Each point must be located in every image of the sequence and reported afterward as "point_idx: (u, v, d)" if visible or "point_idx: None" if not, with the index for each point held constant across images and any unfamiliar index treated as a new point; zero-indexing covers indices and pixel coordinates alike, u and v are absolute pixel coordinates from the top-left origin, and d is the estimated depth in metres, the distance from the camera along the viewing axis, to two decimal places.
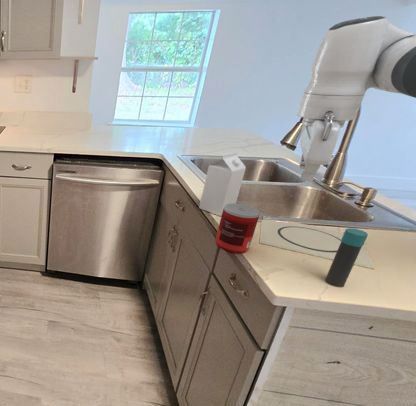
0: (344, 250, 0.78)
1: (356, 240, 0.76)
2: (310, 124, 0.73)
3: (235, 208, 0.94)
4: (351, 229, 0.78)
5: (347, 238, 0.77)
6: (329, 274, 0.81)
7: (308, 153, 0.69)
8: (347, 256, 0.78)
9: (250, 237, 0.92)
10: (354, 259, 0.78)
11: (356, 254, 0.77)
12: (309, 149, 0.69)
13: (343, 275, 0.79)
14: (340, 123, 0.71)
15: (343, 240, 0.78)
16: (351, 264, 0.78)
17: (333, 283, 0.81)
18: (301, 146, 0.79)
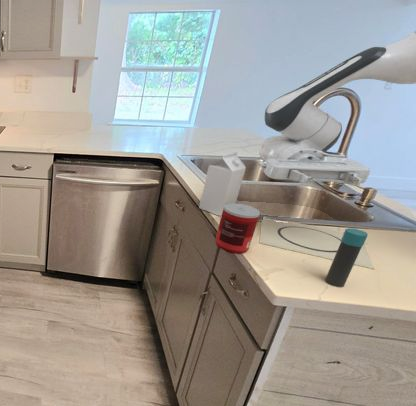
0: (344, 250, 0.78)
1: (356, 240, 0.76)
2: None
3: (235, 208, 0.94)
4: (351, 229, 0.78)
5: (347, 238, 0.77)
6: (329, 274, 0.81)
7: None
8: (347, 256, 0.78)
9: (250, 237, 0.92)
10: (354, 259, 0.78)
11: (356, 254, 0.77)
12: (267, 175, 0.94)
13: (343, 275, 0.79)
14: (298, 157, 0.94)
15: (343, 240, 0.78)
16: (351, 264, 0.78)
17: (333, 283, 0.81)
18: (331, 181, 0.89)
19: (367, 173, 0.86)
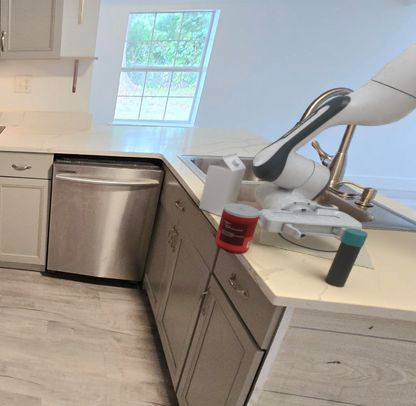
0: (344, 250, 0.78)
1: (356, 240, 0.76)
2: None
3: (235, 208, 0.94)
4: (351, 229, 0.78)
5: (347, 238, 0.77)
6: (329, 274, 0.81)
7: (262, 227, 0.95)
8: (347, 256, 0.78)
9: (250, 237, 0.92)
10: (354, 259, 0.78)
11: (356, 254, 0.77)
12: (261, 226, 0.95)
13: (343, 275, 0.79)
14: (292, 209, 0.95)
15: (343, 240, 0.78)
16: (351, 264, 0.78)
17: (333, 283, 0.81)
18: (324, 235, 0.90)
19: (359, 229, 0.87)
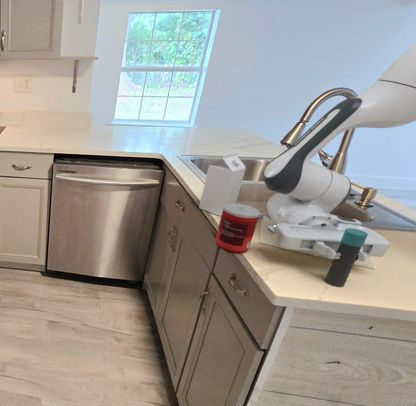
0: (344, 250, 0.78)
1: (356, 240, 0.76)
2: None
3: (235, 208, 0.94)
4: (351, 229, 0.78)
5: (347, 238, 0.77)
6: (329, 274, 0.81)
7: (278, 244, 0.87)
8: (347, 256, 0.78)
9: (250, 237, 0.92)
10: (354, 259, 0.78)
11: (356, 254, 0.77)
12: (277, 242, 0.88)
13: (343, 275, 0.79)
14: (310, 223, 0.88)
15: (343, 240, 0.78)
16: (351, 264, 0.78)
17: (333, 283, 0.81)
18: None
19: (386, 247, 0.80)
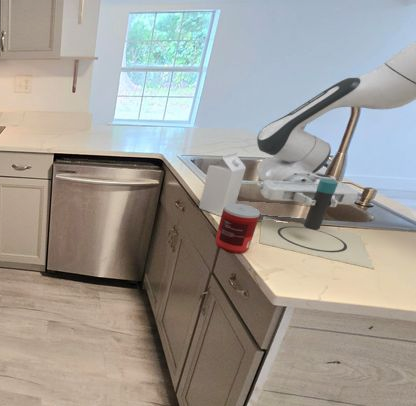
0: (319, 197, 0.92)
1: (328, 187, 0.90)
2: None
3: (235, 208, 0.94)
4: (325, 179, 0.92)
5: (321, 187, 0.91)
6: (307, 219, 0.96)
7: (264, 196, 1.02)
8: (321, 202, 0.92)
9: (250, 237, 0.92)
10: (327, 205, 0.92)
11: (329, 200, 0.92)
12: None
13: (318, 219, 0.94)
14: (292, 179, 1.02)
15: (318, 189, 0.92)
16: (324, 209, 0.93)
17: (310, 227, 0.95)
18: None
19: (355, 196, 0.94)
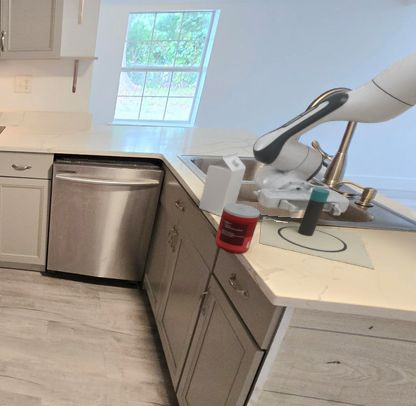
0: (312, 205, 0.98)
1: (320, 196, 0.96)
2: None
3: (235, 208, 0.94)
4: (317, 188, 0.98)
5: (314, 195, 0.97)
6: (301, 226, 1.01)
7: (261, 204, 1.07)
8: (314, 210, 0.98)
9: (250, 237, 0.92)
10: (319, 212, 0.98)
11: (321, 208, 0.97)
12: (260, 203, 1.08)
13: (311, 226, 0.99)
14: (288, 188, 1.08)
15: (311, 197, 0.98)
16: (317, 216, 0.98)
17: (304, 233, 1.01)
18: None
19: (347, 204, 1.00)
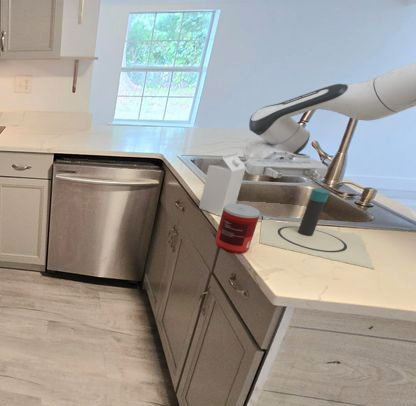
0: (312, 205, 0.98)
1: (320, 196, 0.96)
2: None
3: (235, 208, 0.94)
4: (317, 188, 0.98)
5: (314, 195, 0.97)
6: (301, 226, 1.01)
7: (247, 172, 1.16)
8: (314, 210, 0.98)
9: (250, 237, 0.92)
10: (319, 212, 0.98)
11: (321, 208, 0.97)
12: (247, 172, 1.17)
13: (311, 226, 0.99)
14: (272, 157, 1.17)
15: (311, 197, 0.98)
16: (317, 216, 0.98)
17: (304, 233, 1.01)
18: None
19: (325, 170, 1.09)
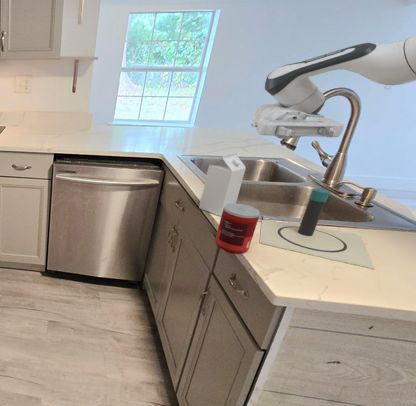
0: (312, 205, 0.98)
1: (320, 196, 0.96)
2: None
3: (235, 208, 0.94)
4: (317, 188, 0.98)
5: (314, 195, 0.97)
6: (301, 226, 1.01)
7: (259, 133, 1.11)
8: (314, 210, 0.98)
9: (250, 237, 0.92)
10: (319, 212, 0.98)
11: (321, 208, 0.97)
12: None
13: (311, 226, 0.99)
14: (285, 118, 1.12)
15: (311, 197, 0.98)
16: (317, 216, 0.98)
17: (304, 233, 1.01)
18: None
19: (341, 128, 1.04)
